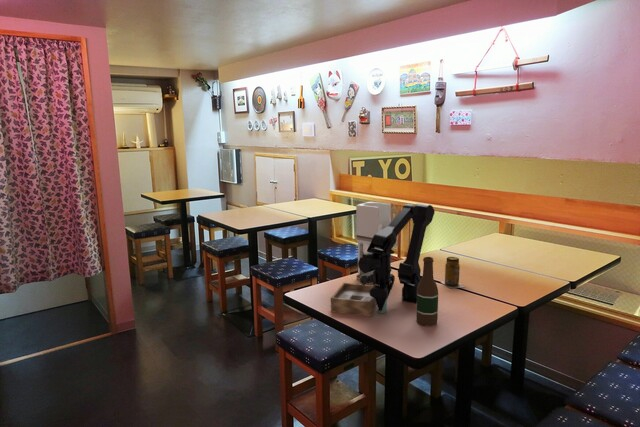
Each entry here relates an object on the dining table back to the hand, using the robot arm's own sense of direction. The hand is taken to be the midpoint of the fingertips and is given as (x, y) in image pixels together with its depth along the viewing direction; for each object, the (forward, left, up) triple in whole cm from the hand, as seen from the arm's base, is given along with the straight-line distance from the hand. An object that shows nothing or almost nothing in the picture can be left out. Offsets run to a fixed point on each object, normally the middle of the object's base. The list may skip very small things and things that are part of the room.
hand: (382, 306), depth 170 cm
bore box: (+11, -3, -2) cm, 12 cm away
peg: (0, 0, -2) cm, 2 cm away
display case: (+11, -35, -2) cm, 37 cm away
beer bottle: (-17, +5, -2) cm, 18 cm away
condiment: (-24, -37, -2) cm, 44 cm away
